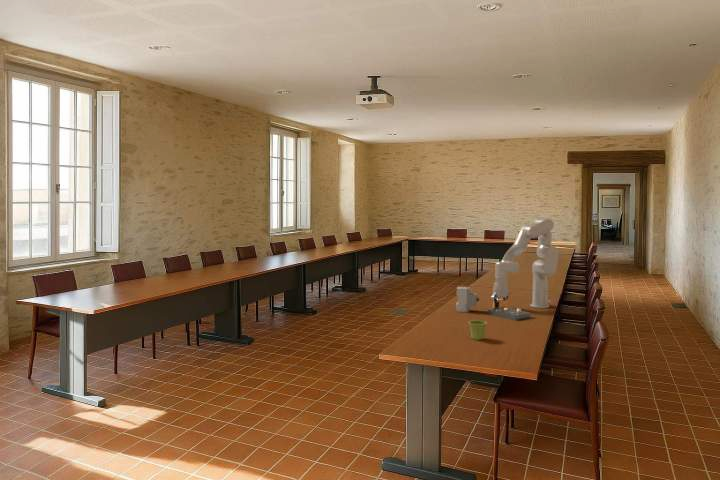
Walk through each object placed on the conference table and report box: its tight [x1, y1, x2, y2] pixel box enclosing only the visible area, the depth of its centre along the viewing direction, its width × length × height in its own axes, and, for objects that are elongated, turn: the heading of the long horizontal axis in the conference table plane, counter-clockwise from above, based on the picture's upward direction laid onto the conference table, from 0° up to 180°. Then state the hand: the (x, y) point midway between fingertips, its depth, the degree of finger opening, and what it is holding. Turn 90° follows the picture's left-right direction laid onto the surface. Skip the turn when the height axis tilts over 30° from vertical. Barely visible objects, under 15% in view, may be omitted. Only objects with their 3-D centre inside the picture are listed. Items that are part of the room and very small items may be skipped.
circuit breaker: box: [455, 286, 480, 313], centre depth 354 cm, size 8×14×15 cm, turn 78°
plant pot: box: [468, 320, 488, 341], centre depth 286 cm, size 9×9×9 cm
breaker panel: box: [487, 307, 532, 321], centre depth 341 cm, size 14×22×3 cm, turn 34°
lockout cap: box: [492, 298, 509, 308], centre depth 362 cm, size 7×7×6 cm
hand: (500, 306), depth 362 cm, fingers closed on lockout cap, 7 cm apart
